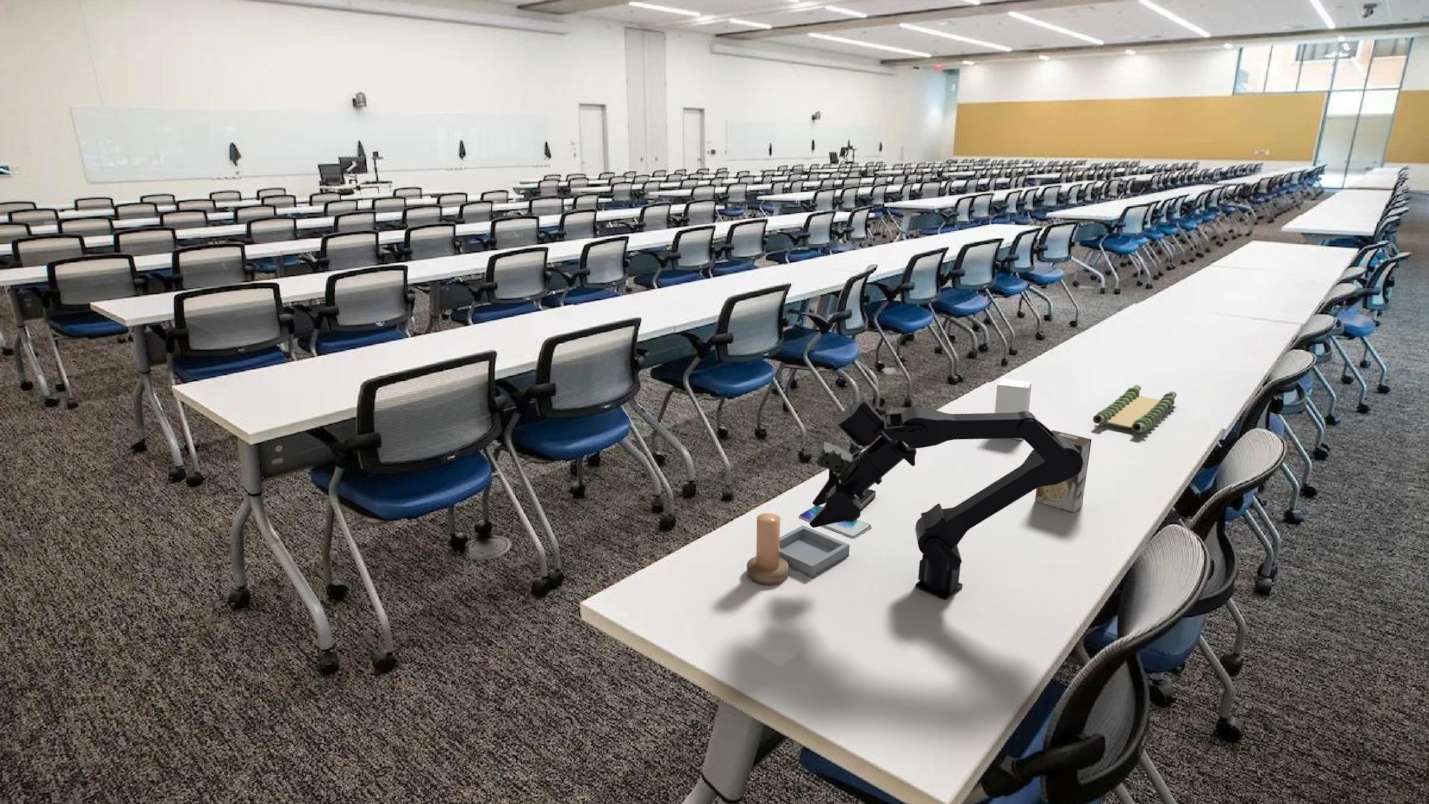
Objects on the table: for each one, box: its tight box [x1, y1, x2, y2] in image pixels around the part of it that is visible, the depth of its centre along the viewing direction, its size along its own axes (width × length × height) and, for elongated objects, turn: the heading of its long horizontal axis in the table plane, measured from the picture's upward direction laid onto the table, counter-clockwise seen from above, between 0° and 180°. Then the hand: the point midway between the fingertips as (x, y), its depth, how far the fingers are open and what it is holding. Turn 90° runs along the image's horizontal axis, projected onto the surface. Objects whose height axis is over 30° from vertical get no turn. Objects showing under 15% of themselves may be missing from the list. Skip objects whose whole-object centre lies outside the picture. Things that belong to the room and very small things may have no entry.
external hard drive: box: [854, 488, 877, 512], centre depth 183 cm, size 7×11×2 cm, turn 147°
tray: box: [779, 525, 851, 579], centre depth 159 cm, size 12×12×2 cm
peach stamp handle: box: [755, 512, 781, 571], centre depth 151 cm, size 4×4×10 cm
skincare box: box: [994, 378, 1032, 441], centre depth 222 cm, size 8×7×16 cm
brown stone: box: [746, 556, 789, 586], centre depth 153 cm, size 8×8×2 cm
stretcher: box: [1092, 384, 1178, 434], centre depth 238 cm, size 41×14×5 cm, turn 138°
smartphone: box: [798, 505, 872, 539], centre depth 174 cm, size 7×1×15 cm
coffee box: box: [1034, 430, 1093, 513], centre depth 180 cm, size 9×6×16 cm
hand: (812, 514), depth 148 cm, fingers open, 9 cm apart
